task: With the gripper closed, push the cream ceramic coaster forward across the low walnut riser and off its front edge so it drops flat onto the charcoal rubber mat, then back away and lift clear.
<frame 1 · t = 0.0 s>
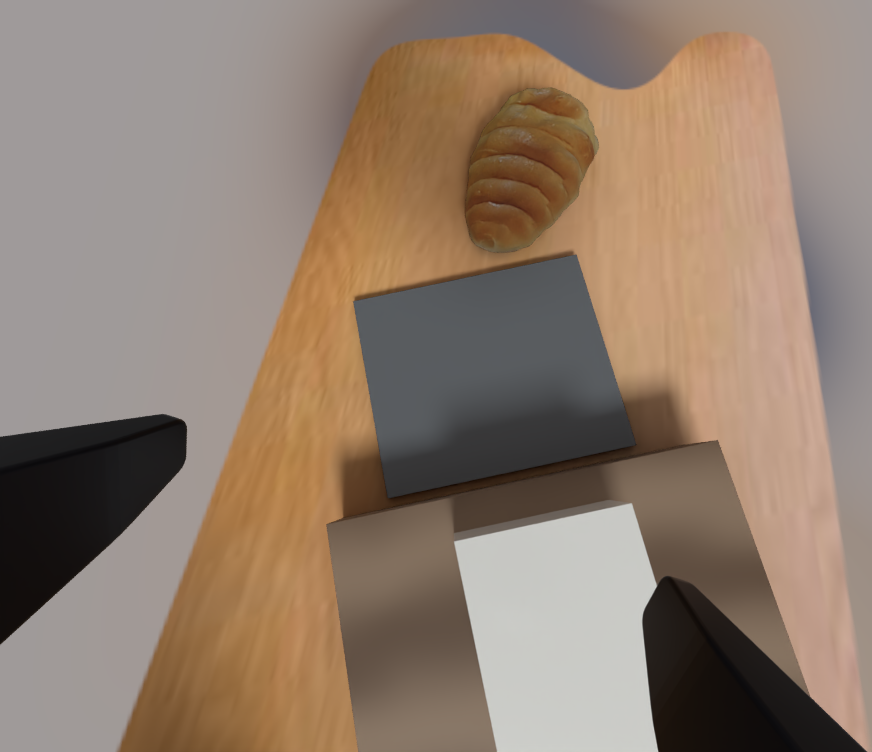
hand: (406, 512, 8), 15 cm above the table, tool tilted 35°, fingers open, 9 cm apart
pastry: (525, 187, 27), on the table
mat: (486, 371, 24), on the table
coaster: (555, 614, 18), point 3 cm above the table, touching riser
riser: (541, 595, 21), on the table
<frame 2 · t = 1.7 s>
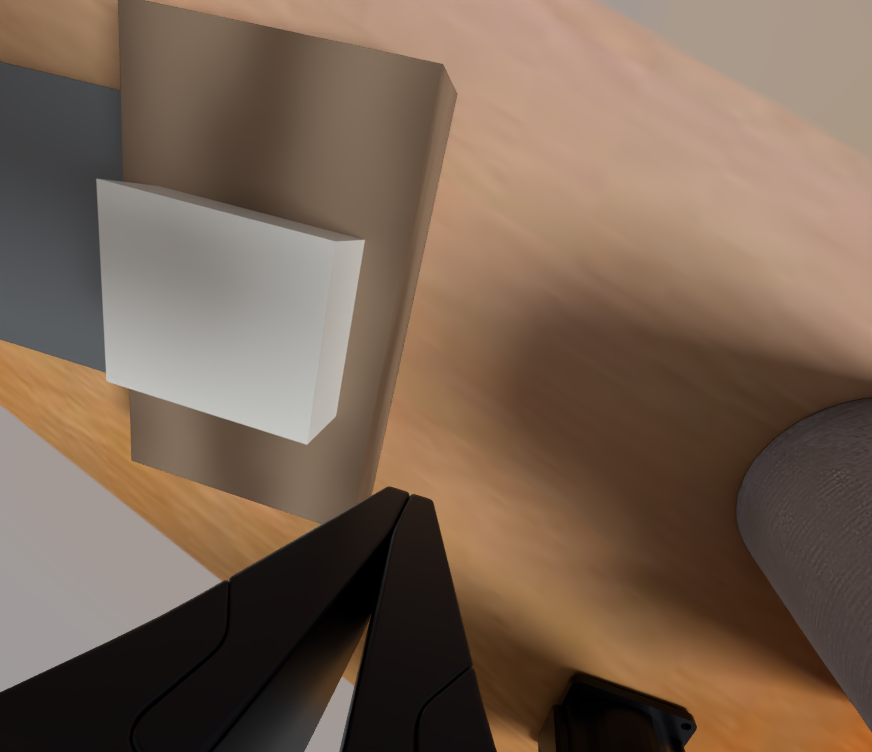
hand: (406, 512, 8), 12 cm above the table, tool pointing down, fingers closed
pillar candle: (858, 501, 18), on the table
mat: (68, 233, 20), on the table
coaster: (252, 306, 17), point 3 cm above the table, touching riser
riser: (291, 295, 19), on the table
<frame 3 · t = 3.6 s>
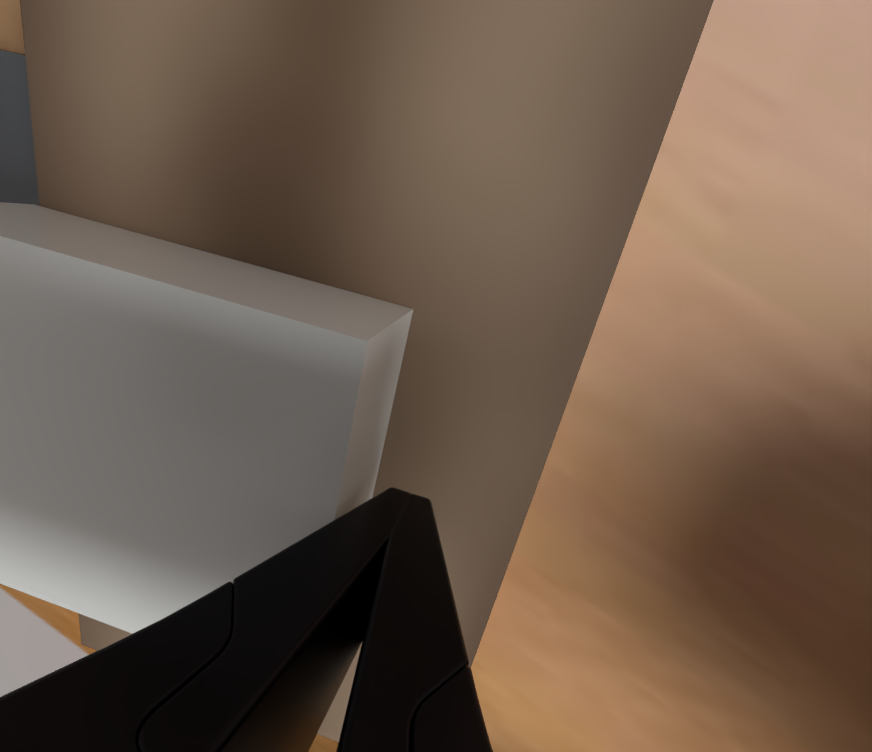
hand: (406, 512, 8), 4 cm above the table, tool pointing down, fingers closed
coaster: (206, 415, 9), point 3 cm above the table, touching gripper
riser: (333, 391, 12), on the table
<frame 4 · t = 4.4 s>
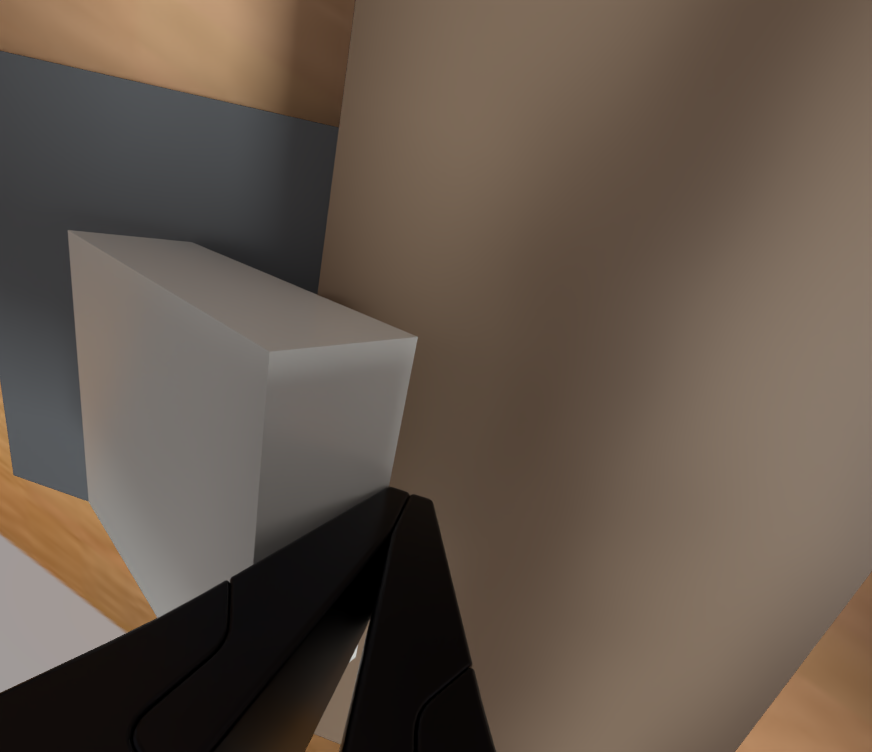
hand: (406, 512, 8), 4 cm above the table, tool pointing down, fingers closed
mat: (160, 340, 13), on the table
coaster: (265, 427, 10), point 2 cm above the table, tilted 29°, touching gripper, riser
riser: (543, 454, 11), on the table
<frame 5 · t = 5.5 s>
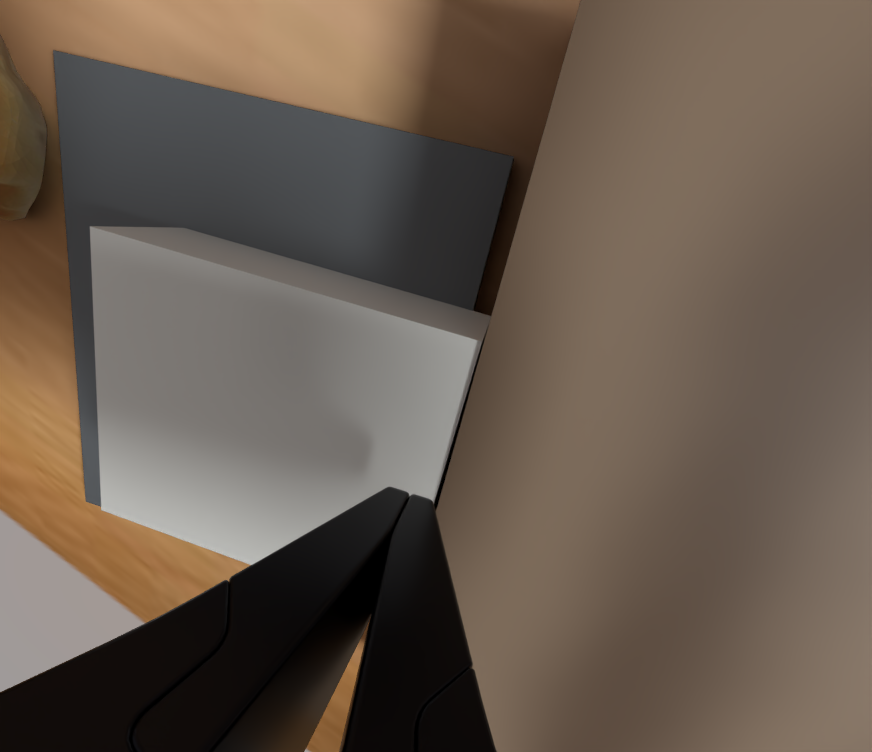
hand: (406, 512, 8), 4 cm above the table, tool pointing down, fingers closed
mat: (256, 366, 12), on the table
coaster: (311, 398, 12), resting on mat
riser: (670, 490, 11), on the table
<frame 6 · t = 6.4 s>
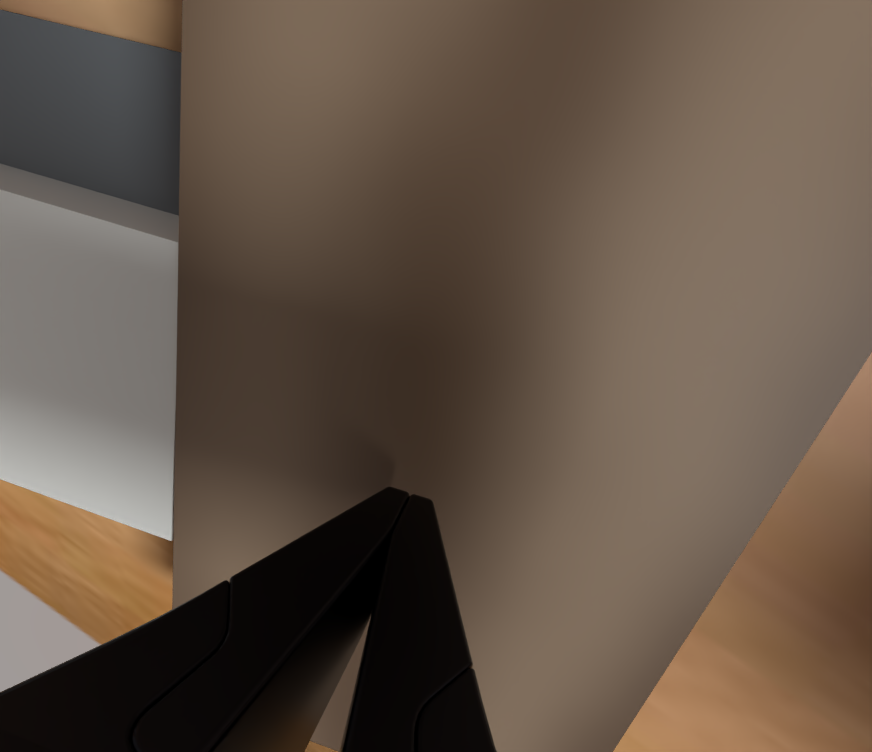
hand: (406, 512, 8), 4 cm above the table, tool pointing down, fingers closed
mat: (62, 300, 12), on the table
coaster: (110, 331, 12), resting on mat
riser: (456, 419, 11), on the table
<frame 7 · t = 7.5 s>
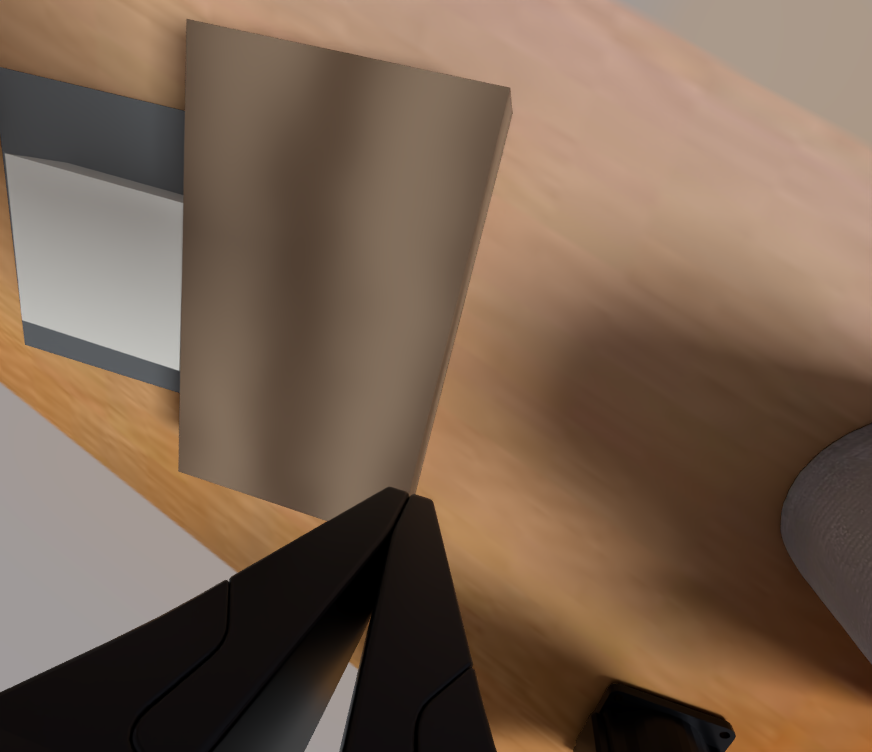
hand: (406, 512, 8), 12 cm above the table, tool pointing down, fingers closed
mat: (116, 247, 21), on the table
coaster: (145, 263, 20), resting on mat
riser: (338, 309, 20), on the table
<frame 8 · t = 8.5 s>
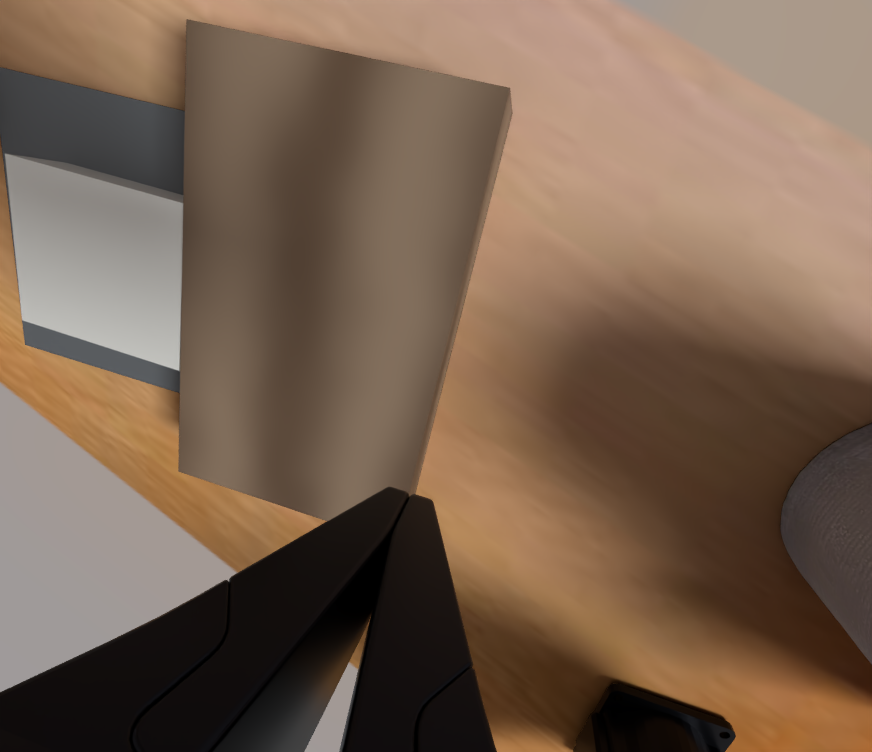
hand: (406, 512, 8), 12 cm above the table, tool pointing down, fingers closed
mat: (116, 247, 21), on the table
coaster: (145, 263, 20), resting on mat
riser: (338, 309, 20), on the table
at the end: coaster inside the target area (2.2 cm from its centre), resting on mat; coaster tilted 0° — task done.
